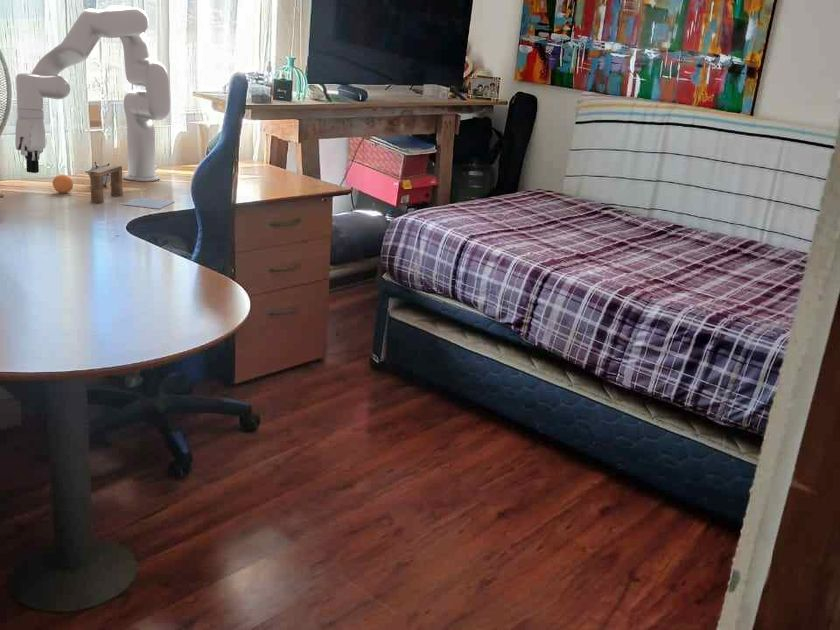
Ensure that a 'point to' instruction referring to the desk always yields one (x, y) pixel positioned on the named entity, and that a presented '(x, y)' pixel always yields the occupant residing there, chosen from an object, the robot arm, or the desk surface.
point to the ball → (62, 184)
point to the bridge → (97, 182)
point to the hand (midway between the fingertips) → (32, 172)
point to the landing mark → (148, 203)
